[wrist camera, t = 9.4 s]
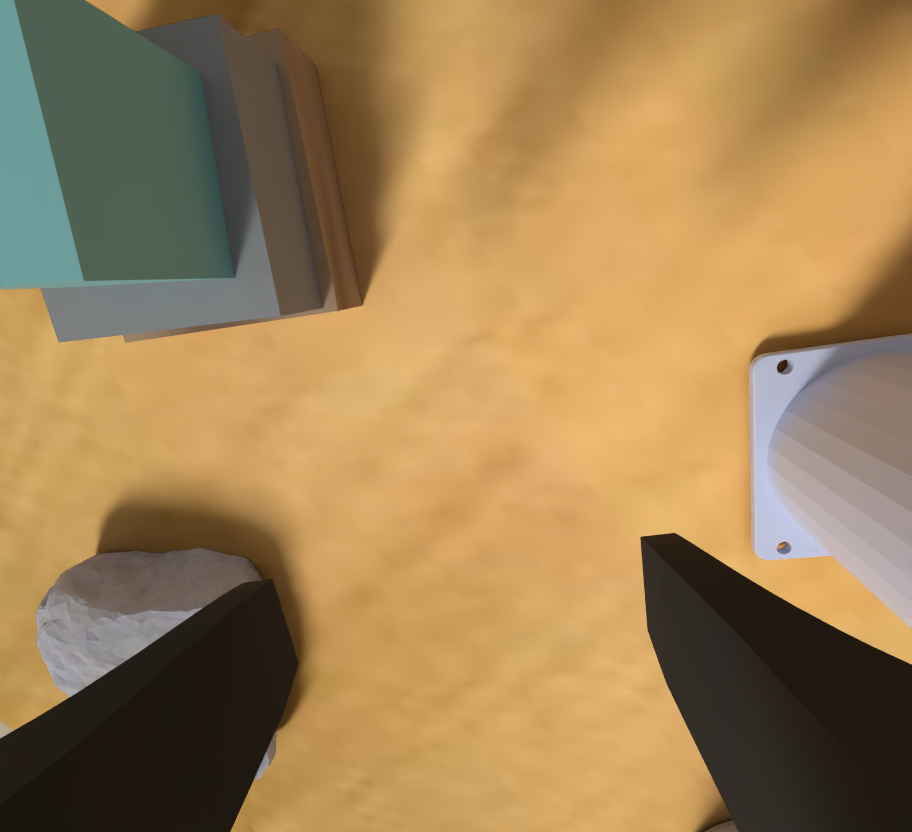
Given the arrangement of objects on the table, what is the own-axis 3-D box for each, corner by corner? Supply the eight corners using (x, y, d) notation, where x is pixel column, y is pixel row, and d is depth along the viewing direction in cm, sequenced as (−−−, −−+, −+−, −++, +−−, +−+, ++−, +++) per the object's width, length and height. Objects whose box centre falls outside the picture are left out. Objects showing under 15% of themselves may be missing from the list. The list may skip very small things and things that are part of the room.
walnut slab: (320, 69, 17) (279, 28, 14) (365, 304, 19) (338, 310, 16) (117, 116, 18) (42, 88, 15) (180, 332, 20) (125, 342, 17)
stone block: (284, 526, 24) (73, 543, 24) (254, 588, 20) (-9, 611, 19) (317, 710, 28) (135, 729, 27) (298, 799, 23) (78, 823, 23)
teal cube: (200, 72, 12) (0, -53, 7) (234, 277, 13) (83, 281, 9) (26, 92, 13) (-257, -11, 8) (76, 287, 14) (-143, 294, 9)
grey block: (277, 64, 14) (217, 13, 12) (323, 308, 16) (280, 315, 13) (70, 106, 15) (-33, 69, 13) (134, 330, 17) (58, 342, 14)
